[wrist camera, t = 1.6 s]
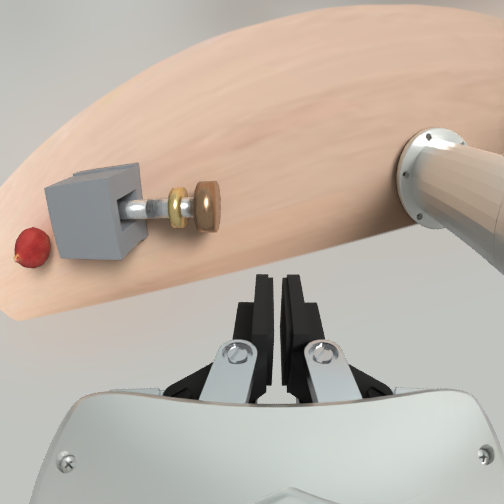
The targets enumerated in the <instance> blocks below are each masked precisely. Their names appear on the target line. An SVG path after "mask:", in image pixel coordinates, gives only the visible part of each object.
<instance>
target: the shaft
mask: <svg viewBox="0 0 504 504" xmlns="http://www.w3.org/2000/svg"><path fill="white" fill-rule="evenodd" d="M117 206H118V212H119V218H120V220H123V219H149V218H169V221H170V224H171V226H172V227H173V228H184V227H186V225H187V223H188V219H189V217H194V218H195V224H196V228H197V230H198V232H200V233H202V232H217V231H218V229H219V224H220V214H221V201H220V190H219V185H218V183H217V181H203V182H198V183H197V186H196V189H195V194H194V197H188V193H187V190H186V189H185V188H184V187H182V188H172V189H171V191H170V193H169V197H168V198H161V199H143V200H129V201H117Z"/></svg>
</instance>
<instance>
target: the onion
mask: <svg viewBox="0 0 504 504" xmlns="http://www.w3.org/2000/svg"><path fill="white" fill-rule="evenodd" d="M49 253H50V241H49V237H48V235H47V234H46V233H45V232H43V231H42V230H40V229H38V228H34V227H32V228H28V229H25V230H24V231H22V232H21V234H20V235H19V237H18V238H17V240H16V244H15V257H14V261H15V262H17V263H19V264H20V265H22V266H23V267H27V268H36V267H39V266H41V265H43V264H44V262H45V261H46V259H47V258H48V257H49Z"/></svg>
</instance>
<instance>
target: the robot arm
mask: <svg viewBox="0 0 504 504" xmlns="http://www.w3.org/2000/svg"><path fill="white" fill-rule="evenodd" d="M403 173H404V175H403ZM397 189H398V195H399V198H400V201H401V203H402V205H403V207H404V209H405V211H406V212H407V213H408V215H409V216H410V217H411V218H412V219H413V220H415V221H416V222H417V223H419V224H420V225H422V226H424V227H427V228H430V229H441V228H447V229H448V230H449V231H451V232H452V233H453V234H455V235H456V236H457V237H459V238H460V239H461V240H462V241H464V242H465V243H466V244H467V245H469V246H470V247H471V248H472V249H474V250H475V251H476V252H477V253H478V254H480V255H481V256H482V257H483V258H484V259H486V260H487V261H488V262H489V263H490V264H491V265H493V266H494V267H495V268H496V269H497V270H498V271H499V272H500V273H502V274H503V275H504V156H503V155H500V154H497V153H493V152H489V151H486V150H482V149H478V148H474V147H470V146H468V145H467V143H466V142H465V141H464V140H463V139H462V137H461V136H459V135H458V134H456V133H455V132H454V131H451V130H449V129H445V128H428V129H424V130H422V131H420V132H419V133H417V134H416V135H415V136H414V137H412V138H411V139H410V141H409V142H408V143H407V145H406V146H405V148H404V150H403V152H402V154H401V156H400V160H399V163H398V168H397ZM280 319H281V320H280V340H281V369H282V370H281V371H282V386H284V385H287V393H291V394H292V395H294V396H295V397H296V404H257V399H258V398H259V397H260V396H262V395H263V394H264V393H266V385H269V386H271V384H272V366H273V346H274V302H273V278H268V275H267V274H264V275H263V274H257V275H256V286H255V299H254V302H239V303H238V309H237V315H236V321H235V328H234V334H233V340H231V341H228V342H226V343H224V344H223V345H221V347H220V348H219V350H218V352H217V355H216V357H215V360H214V362H212V363H211V364H209V365H207V366H206V367H204V368H202V369H200V370H198V371H197V372H195V373H193V374H191V375H189V376H187V377H185V378H184V379H182V380H180V381H178V382H176V383H174V384H172V385H171V386H169V387H168V388H167V389H166V390H161V391H160V390H159V388H150V389H116V390H110V391H107V392H100V393H94V394H90V395H87V396H84V397H82V398H81V399H79V400H78V401H77V402H76V403H75V404H74V405H73V406H72V407H71V409H70V410H69V411H68V413H67V414H66V416H65V417H64V419H63V421H62V422H61V424H60V426H59V428H58V430H57V432H56V434H55V436H54V438H53V440H52V442H51V444H50V446H49V449H48V451H47V454H46V456H45V459H44V461H43V464H42V466H41V469H40V472H39V474H38V477H37V480H36V483H35V486H34V489H33V493H32V496H31V499H30V503H29V504H504V455H503V452H502V449H501V446H500V443H499V441H498V438H497V436H496V433H495V431H494V429H493V426H492V424H491V422H490V420H489V418H488V416H487V414H486V412H485V411H484V409H483V407H482V406H481V404H480V403H479V402H478V400H477V399H476V398H475V397H474V396H473V395H471V394H469V393H467V392H464V391H460V390H455V389H421V388H397V387H396V388H395V390H391V389H390V388H389V387H388V386H387V385H385V384H383V383H381V382H380V381H378V380H376V379H374V378H373V377H371V376H369V375H367V374H365V373H364V372H362V371H360V370H358V369H356V368H355V367H353V366H351V365H349V364H348V363H347V361H346V358H345V356H344V354H343V352H342V349H341V348H340V346H338V345H337V344H336V343H334V342H332V341H329V340H325V337H324V332H323V328H322V323H321V319H320V315H319V310H318V306H317V303H304V297H303V292H302V286H301V281H300V276H299V275H287V278H283V280H282V299H281V318H280Z"/></svg>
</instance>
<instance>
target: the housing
mask: <svg viewBox="0 0 504 504" xmlns="http://www.w3.org/2000/svg"><path fill="white" fill-rule="evenodd" d="M44 189H45V195H46V200H47V205H48V210H49V215H50V219H51V224H52V228H53V232H54V236H55V240H56V244H57V247H58V251H59V254H60V258H66V259H103V260H122V259H123V258H124V257H125V256H126V255H127V254H128V253H129V252H130V251H131V250H132V249H133V248H134V247H135V246H136V245H137V244H138V242H139V241H140V240H144V239H145V238H146V237H147V236H148V232H147V225H146V219H123V220H120V218H119V212H118V206H117V201H129V200H143V197H142V189H141V180H140V171H139V163H133V164H125V165H118V166H111V167H104V168H98V169H92V170H86V171H80V172H77V173H74V174H73V177H70V178H68V179H65V180H63V181H60V182H58V183H55V184H53V185H51V186H48V187H46V188H44Z"/></svg>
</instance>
